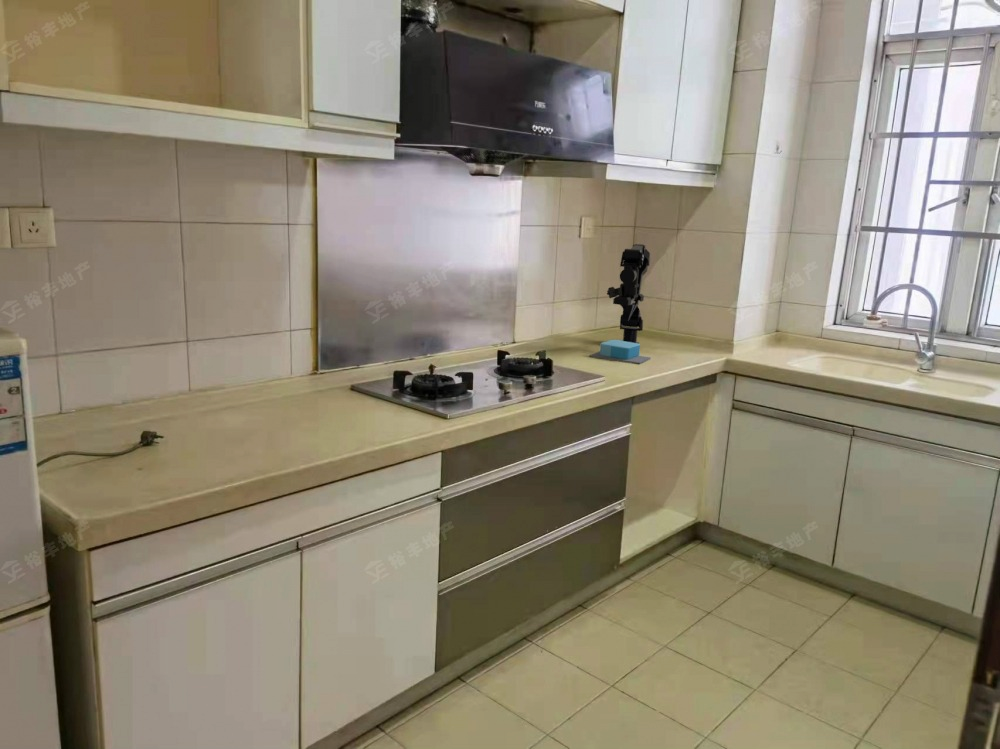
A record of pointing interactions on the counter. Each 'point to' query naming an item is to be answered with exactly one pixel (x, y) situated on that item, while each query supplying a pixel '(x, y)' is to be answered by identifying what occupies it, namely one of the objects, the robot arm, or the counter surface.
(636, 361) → the mat
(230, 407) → the counter surface
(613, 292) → the robot arm
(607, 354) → the light blue flat block
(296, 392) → the counter surface
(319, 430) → the counter surface
